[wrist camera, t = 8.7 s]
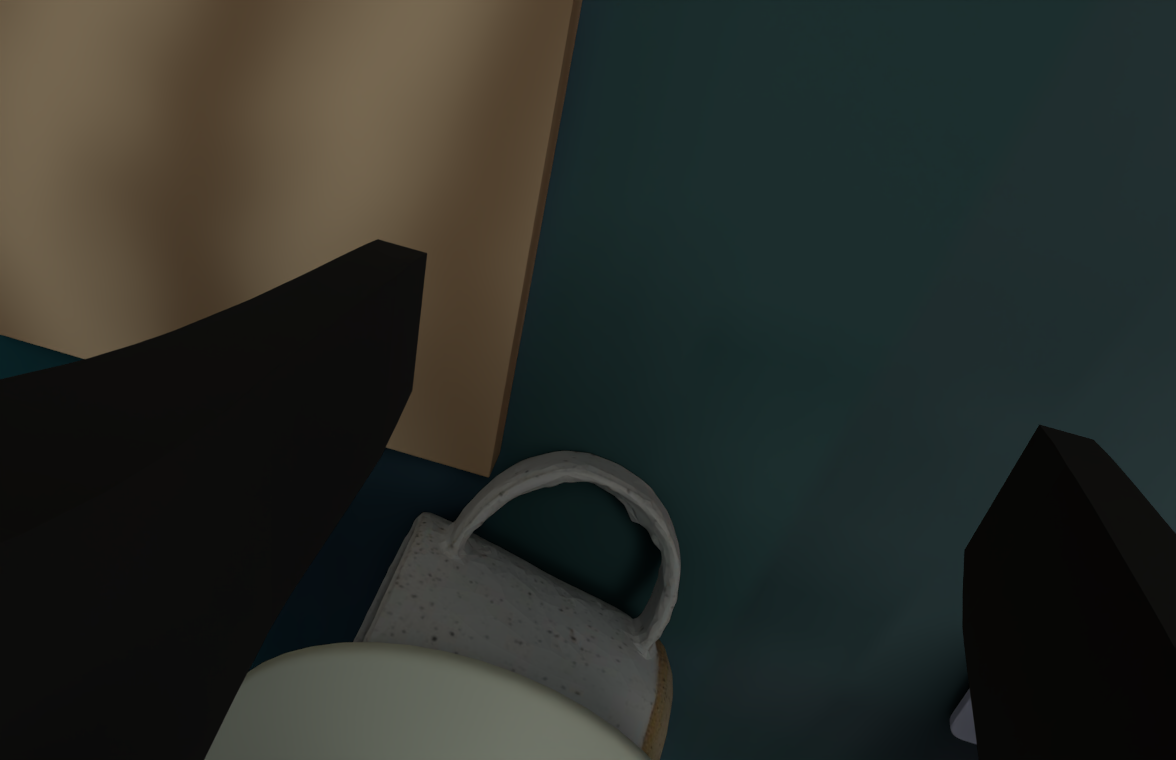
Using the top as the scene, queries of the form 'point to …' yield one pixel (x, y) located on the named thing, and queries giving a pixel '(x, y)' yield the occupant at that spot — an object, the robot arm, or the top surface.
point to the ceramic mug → (538, 602)
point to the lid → (406, 711)
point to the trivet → (282, 173)
